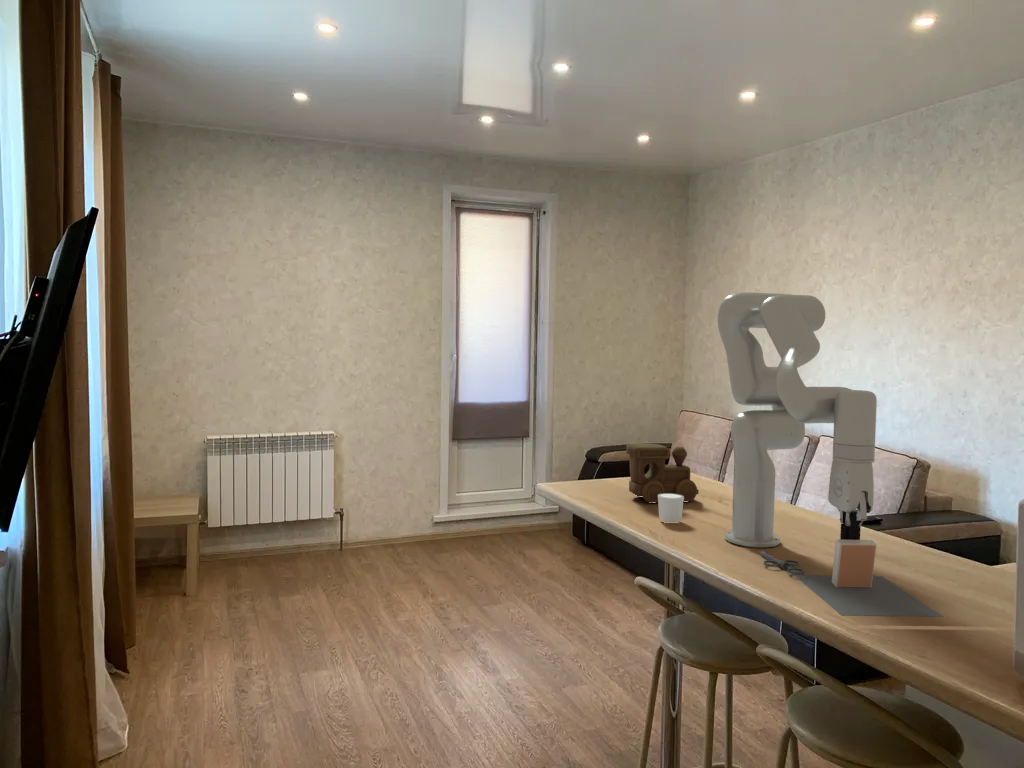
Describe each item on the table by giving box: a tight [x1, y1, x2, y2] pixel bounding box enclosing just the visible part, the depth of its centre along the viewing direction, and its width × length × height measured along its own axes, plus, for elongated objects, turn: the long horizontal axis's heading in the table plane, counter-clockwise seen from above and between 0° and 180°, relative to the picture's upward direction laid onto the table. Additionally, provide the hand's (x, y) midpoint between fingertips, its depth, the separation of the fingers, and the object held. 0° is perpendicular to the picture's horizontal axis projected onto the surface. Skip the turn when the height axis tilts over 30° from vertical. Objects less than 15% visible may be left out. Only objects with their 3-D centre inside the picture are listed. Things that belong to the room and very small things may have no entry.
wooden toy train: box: [625, 443, 699, 503], centre depth 223 cm, size 20×11×17 cm, turn 102°
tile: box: [831, 539, 877, 587], centre depth 146 cm, size 2×7×9 cm, turn 90°
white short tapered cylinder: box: [657, 493, 684, 522], centre depth 198 cm, size 7×7×7 cm
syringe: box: [757, 550, 805, 575], centre depth 160 cm, size 8×18×2 cm, turn 9°
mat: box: [794, 574, 944, 618], centre depth 142 cm, size 22×18×1 cm
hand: (849, 544), depth 148 cm, fingers closed
